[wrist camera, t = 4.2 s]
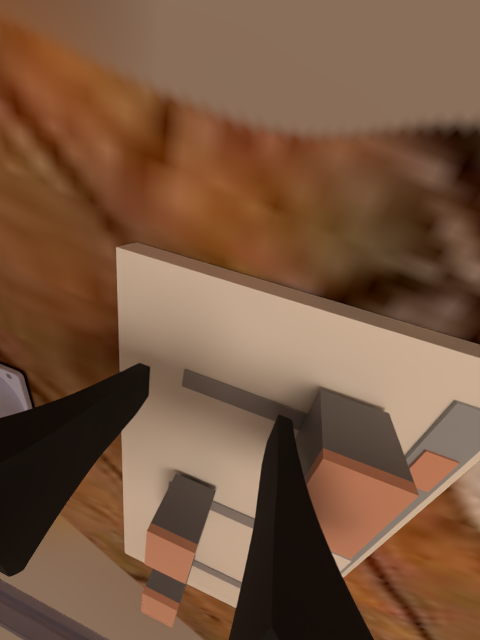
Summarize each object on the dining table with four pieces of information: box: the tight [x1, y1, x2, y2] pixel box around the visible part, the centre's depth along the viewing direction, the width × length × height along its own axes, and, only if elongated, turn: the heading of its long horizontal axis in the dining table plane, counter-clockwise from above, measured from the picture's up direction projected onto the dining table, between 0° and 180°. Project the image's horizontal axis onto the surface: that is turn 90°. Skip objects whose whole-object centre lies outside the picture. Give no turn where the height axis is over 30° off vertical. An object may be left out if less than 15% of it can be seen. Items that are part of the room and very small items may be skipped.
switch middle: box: [144, 474, 216, 584], centre depth 16 cm, size 3×5×3 cm, turn 168°
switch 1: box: [141, 555, 196, 628], centre depth 22 cm, size 3×5×3 cm, turn 167°
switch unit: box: [116, 242, 480, 608], centre depth 18 cm, size 18×34×2 cm, turn 168°
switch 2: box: [295, 389, 419, 559], centre depth 10 cm, size 3×5×3 cm, turn 167°
